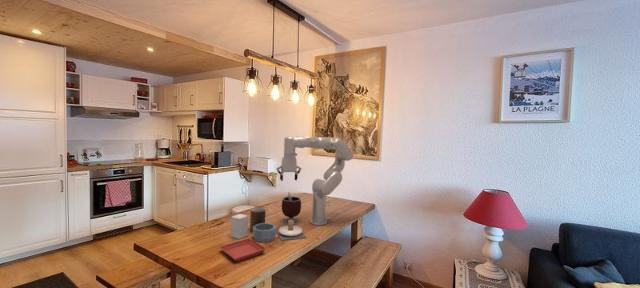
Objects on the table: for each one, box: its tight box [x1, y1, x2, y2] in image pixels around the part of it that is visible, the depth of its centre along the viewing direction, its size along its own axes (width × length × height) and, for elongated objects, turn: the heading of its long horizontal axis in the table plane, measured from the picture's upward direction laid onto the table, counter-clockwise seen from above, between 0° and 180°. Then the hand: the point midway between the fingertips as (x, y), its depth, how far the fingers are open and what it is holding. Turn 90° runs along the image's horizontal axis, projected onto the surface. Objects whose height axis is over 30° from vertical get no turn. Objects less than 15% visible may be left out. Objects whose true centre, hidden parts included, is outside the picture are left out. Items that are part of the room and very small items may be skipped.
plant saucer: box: [219, 238, 266, 262], centre depth 143 cm, size 18×18×3 cm
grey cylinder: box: [249, 207, 266, 233], centre depth 175 cm, size 10×10×15 cm
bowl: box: [252, 222, 277, 243], centre depth 163 cm, size 13×13×7 cm
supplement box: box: [230, 213, 249, 240], centre depth 164 cm, size 7×7×13 cm
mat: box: [276, 227, 308, 242], centre depth 172 cm, size 16×20×1 cm
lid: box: [278, 219, 303, 236], centre depth 171 cm, size 15×15×8 cm
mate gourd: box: [281, 191, 302, 226], centre depth 193 cm, size 16×14×20 cm
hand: (288, 180), depth 181 cm, fingers open, 9 cm apart
